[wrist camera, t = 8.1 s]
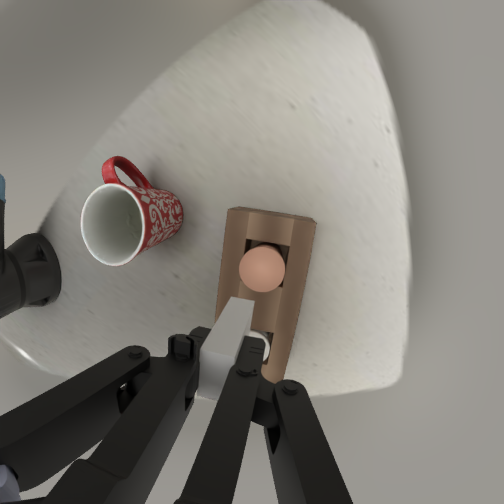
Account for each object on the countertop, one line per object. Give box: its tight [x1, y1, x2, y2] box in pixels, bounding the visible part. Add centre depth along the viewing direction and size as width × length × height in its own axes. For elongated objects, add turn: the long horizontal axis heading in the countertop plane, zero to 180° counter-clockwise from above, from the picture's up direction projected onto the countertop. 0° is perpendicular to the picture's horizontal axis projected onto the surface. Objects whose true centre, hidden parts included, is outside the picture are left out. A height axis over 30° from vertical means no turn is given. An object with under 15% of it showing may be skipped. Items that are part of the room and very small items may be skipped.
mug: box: [81, 156, 183, 266], centre depth 34 cm, size 13×9×14 cm
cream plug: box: [249, 329, 270, 361], centre depth 37 cm, size 5×5×7 cm
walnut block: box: [214, 207, 316, 384], centre depth 37 cm, size 10×22×7 cm, turn 172°
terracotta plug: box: [239, 242, 285, 292], centre depth 33 cm, size 5×5×7 cm
